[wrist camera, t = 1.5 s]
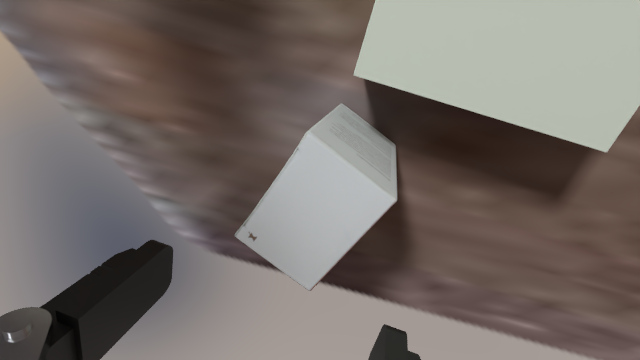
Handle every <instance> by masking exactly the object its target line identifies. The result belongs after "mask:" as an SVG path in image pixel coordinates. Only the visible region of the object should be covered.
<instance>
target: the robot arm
mask: <svg viewBox="0 0 640 360" xmlns="http://www.w3.org/2000/svg"><path fill="white" fill-rule="evenodd" d="M172 263H173V248H172V247H171V246H169V245H166V244H163V243H160V242H157V241H155V240H150V241H148V242H146V243H145V244H144V245H142V246H141V247H140V248H138V249H137V250H135V249H133V248H132V249H129V250H126V251H124V252H121V253H118V254H116V255H114V256H113V257H111V258H110V259H108V260H107V261H106V262H104V263H103V264H102V265H101V266H98V267H97V268H96V269H94V270H93V271H91V273H90V274H87V275H86V276H84V277H83V278H81V279H80V280H79V281H77V282H76V283H74V284H73V285H71V286H70V287H69V288H67V289H66V290H64V291H63V292H62V293H60V294H59V295H57V296H56V297H54V298H53V299H52V300H50V301H49V302H47V303H46V304H44V305H43V306H41V307H39V308H38V307H30V308H22V309H18V310H14V311H11V312H9V313H6V314H4V315H2V316H1V317H0V360H100V359H101V358H102V357H103V355H105V354H106V353H107V351H109V349H110V348H112V346H113V345H115V343H116V342H117V341H118V340H119V339H120V338H121V337H122V336H123V335H124V334H125V333H126V332H127V331H128V330H129V329H130V328H131V327H132V326H133V325H134V324H135V323H136V322H137V321H138V320H139V319H140V318H141V317H142V316H143V315H144V314H145V313H146V312H147V311H148V310H149V309H150V308H151V307H152V306H153V305H154V304H155V303H156V302H157V301H158V299H160V298H161V296H163V294H164V293H165V292H166V290H167V289H168V287H169V285H170V283H171V279H172ZM369 360H421V359H420V357H419V355H418V354H415V353H413V352H410V351H408V349H407V334H406V332H404V331H401V330H399V329H396V328H393V327H391V326H388V325H385V324H384V325H383V327H382V329H381V331H380V333H379V336H378V338H377V340H376V342H375V344H374V347H373V349H372V351H371V353H370V356H369Z"/></svg>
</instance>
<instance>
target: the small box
mask: <svg viewBox="0 0 640 360" xmlns="http://www.w3.org/2000/svg"><path fill="white" fill-rule="evenodd" d="M396 202H397V169H396V145H395V144H394V143H393V142H391V141H390V140H389V139H388V138H386V137H385V136H384V135H383V134H381V133H380V132H379V131H377V130H376V129H375V128H374V127H372V126H371V125H370V124H368V123H367V122H366V121H364V120H363V119H362V118H361V117H359V116H358V115H357V114H355V113H354V112H353V111H352V110H350V109H349V108H348V107H346V106H345V105H344V104H342V103H341V104H340V105H338V106H337V107H336V108H335V109H334V110H332V111H331V112H330V113H329V114H328V115H326V116H325V117H324V118H323V119H321V120H320V121H319V122H318V123H317V124H315V125H314V126H313V127H312V128H311V129H310V130H308V131H307V132H306V133H305V135H304V137H303V138H302V140H301V142H300V143H299V145H298V147H297V148H296V150H295V151H294V153H293V154H292V156H291V157H290V159H289V160H288V162H287V163H286V165H285V166H284V168H283V169H282V170H281V172H280V173H279V175H278V176H277V178H276V179H275V180H274V182H273V183H272V185H271V186H270V188H269V189H268V190H267V192H266V193H265V195H264V196H263V198H262V199H261V200H260V202H259V203H258V205H257V206H256V207H255V209H254V210H253V212H252V213H251V214H250V216H249V217H248V218H247V219H246V221H245V222H244V223H243V225H242V226H241V227H240V228H239V230H238V231H237V232H236V233H235V237H236V238H238V239H239V240H240V241H242V242H243V243H244V244H246V245H247V246H248V247H250V248H251V249H252V250H254V251H255V252H256V253H258V254H259V255H260V256H262V257H263V258H265V259H266V260H267V261H269V262H270V263H271V264H273V265H274V266H275V267H277V268H278V269H280V270H281V271H282V272H284V273H285V274H286V275H288V276H289V277H290V278H292V279H293V280H295V281H296V282H297V283H299V284H300V285H302V286H303V287H305V288H306V289H307V290H309V291H311V290H312V289H313V288H314V287H315V285H317V284H318V283H319V282H320V281H321V280H322V279H323V277H324V276H325V275H326V274H327V273H328V272H329V271H330V270H331V269H332V268H333V267H334V266H335V265H336V264H337V263H338V262H339V261H340V260H341V259H342V258H343V257H344V256H345V254H346V253H347V252H348V251H349V250H350V249H351V248H352V247H353V246H354V245H355V244H356V243H357V242H358V241H359V240H360V239H361V238H362V237H363V236H364V235H365V234H366V233H367V232H368V231H369V229H370V228H371V227H372V226H373V225H374V224H375V223H376V222H377V221H378V220H379V219H380V218H381V217H382V216H383V215H384V214H385V213H386V212H387V211H388V210H389V209H390V208H391V207H392V206H393V205H394V204H395V203H396Z"/></svg>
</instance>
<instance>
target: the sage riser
mask: <svg viewBox="0 0 640 360" xmlns="http://www.w3.org/2000/svg"><path fill="white" fill-rule="evenodd" d="M354 76H357V77H361V78H364V79H367V80H371V81H374V82H377V83H380V84H384V85H387V86H390V87H393V88H397V89H400V90H403V91H407V92H410V93H413V94H416V95H420V96H423V97H426V98H430V99H433V100H436V101H439V102H443V103H446V104H449V105H453V106H456V107H459V108H462V109H466V110H469V111H472V112H476V113H479V114H482V115H485V116H489V117H492V118H495V119H498V120H502V121H505V122H508V123H512V124H515V125H518V126H521V127H525V128H528V129H531V130H535V131H538V132H541V133H544V134H548V135H551V136H554V137H558V138H561V139H564V140H567V141H571V142H574V143H577V144H581V145H584V146H587V147H590V148H594V149H597V150H600V151H603V152H607V151H608V150H609V148H610V147H611V145H612V144H613V143H614V141H615V140H616V138H617V137H618V135H619V134H620V133H621V131H622V130H623V128H624V127H625V125H626V124H627V123H628V121H629V120H630V118H631V117H632V115H633V114H634V113H635V111H636V110H637V108H638V107H639V105H640V0H376V1H375V4H374V7H373V11H372V14H371V17H370V21H369V24H368V28H367V31H366V34H365V38H364V41H363V44H362V48H361V51H360V54H359V58H358V61H357V65H356V68H355V71H354Z"/></svg>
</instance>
